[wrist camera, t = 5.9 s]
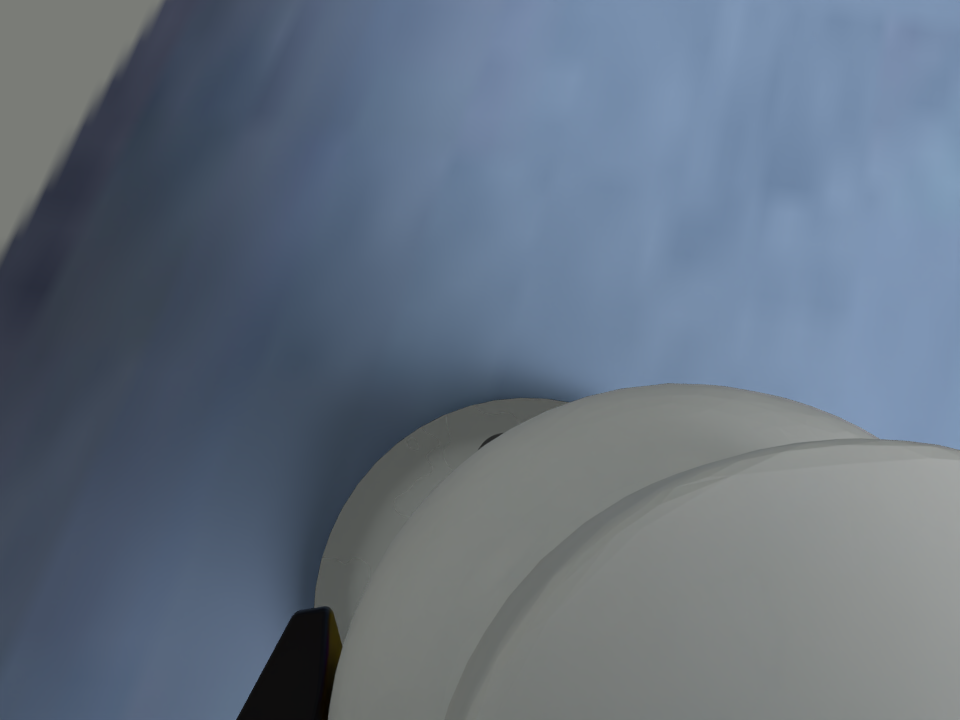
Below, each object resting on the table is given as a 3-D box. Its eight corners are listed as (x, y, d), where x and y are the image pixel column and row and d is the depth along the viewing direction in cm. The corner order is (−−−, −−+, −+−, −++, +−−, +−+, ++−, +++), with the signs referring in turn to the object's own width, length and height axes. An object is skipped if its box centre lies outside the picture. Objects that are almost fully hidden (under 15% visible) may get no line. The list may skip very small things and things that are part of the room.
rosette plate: (772, 788, 22) (788, 800, 21) (348, 873, 21) (343, 890, 20) (682, 376, 24) (692, 369, 23) (295, 437, 23) (289, 432, 22)
